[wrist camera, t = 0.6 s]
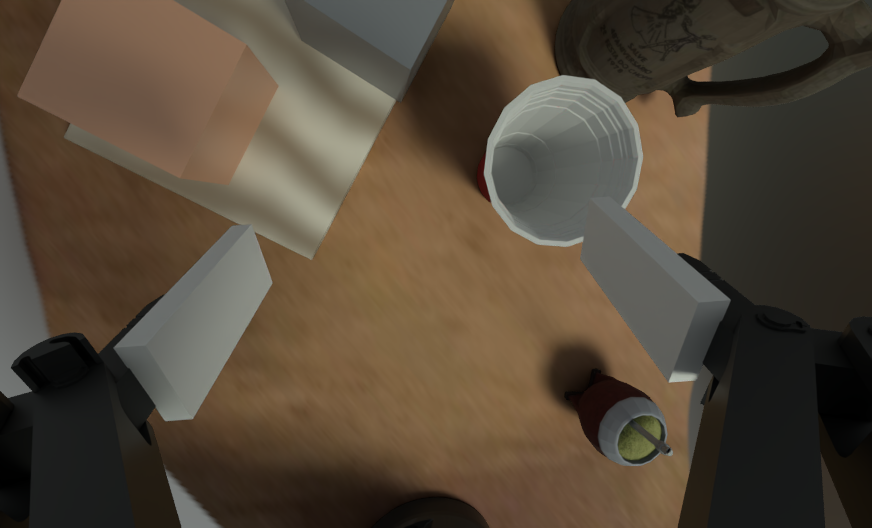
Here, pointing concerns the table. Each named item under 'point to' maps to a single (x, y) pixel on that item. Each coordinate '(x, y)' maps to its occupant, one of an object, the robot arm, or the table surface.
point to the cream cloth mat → (281, 133)
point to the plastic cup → (560, 158)
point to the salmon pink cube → (152, 84)
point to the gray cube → (372, 36)
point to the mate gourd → (620, 421)
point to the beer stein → (707, 46)
